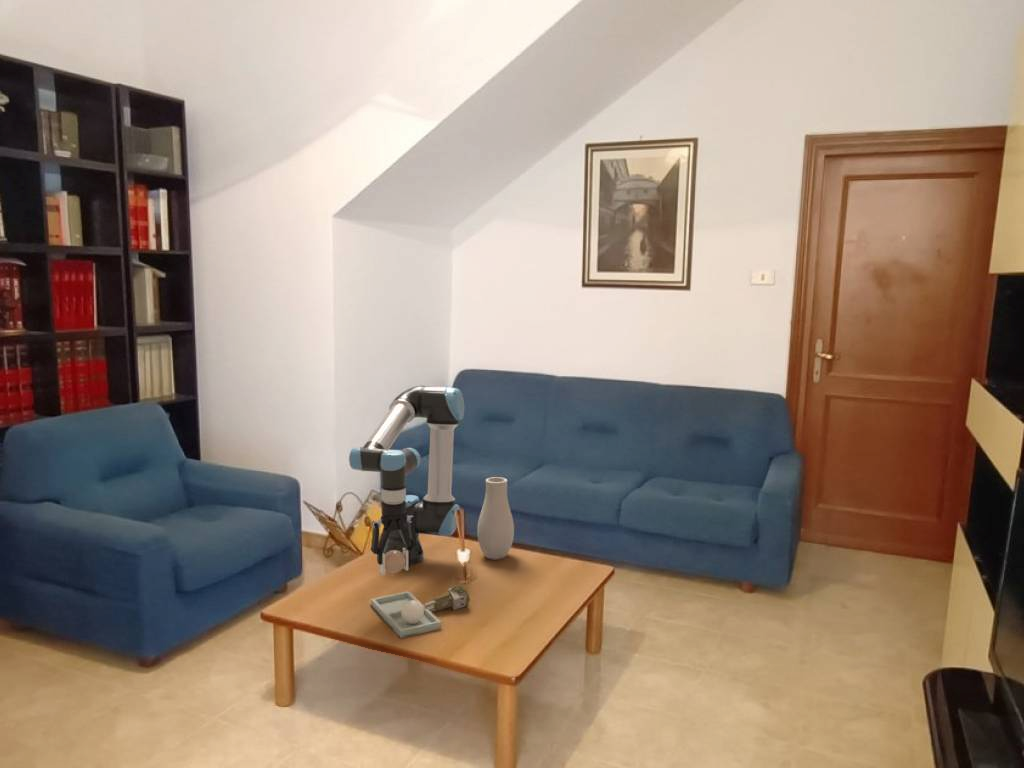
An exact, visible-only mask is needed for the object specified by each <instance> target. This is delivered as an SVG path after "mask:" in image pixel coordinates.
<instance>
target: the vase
mask: <svg viewBox="0 0 1024 768" xmlns="http://www.w3.org/2000/svg"><path fill="white" fill-rule="evenodd" d="M484 494H485V495H484V500H483V503H482V508H481V511H480V513H479V517H478V521H477V528H476V530H477V540H478V544H479V547H480V550H481V551H482V553H483V555H484V556H485V557H486V558H487V559H489V560H495V561H496V560H502V559H503V558H505V557H506V556H507V555H508V553H509V551H511V550H510V549H511V548H512V546H513V543H514V542H513V541H514V537H515V524H514V520H513V519H514V518H513V514H512V512H511V507H510V504H509V503H510V502H509V499H508V479H507V478H505V477H500V476H499V477H498V476H492V477H488V478H486V479H485V493H484Z"/></svg>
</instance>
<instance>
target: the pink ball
mask: <svg viewBox="0 0 1024 768" xmlns="http://www.w3.org/2000/svg"><path fill="white" fill-rule="evenodd" d="M404 566H405V556H404V555H403V553H401V552H400V551H398V550H391V551H389V552H388V553H386V554H385V571H387V572H388V573H391V574H397V573H399V572H401V571H402V570H403V569H404Z"/></svg>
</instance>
